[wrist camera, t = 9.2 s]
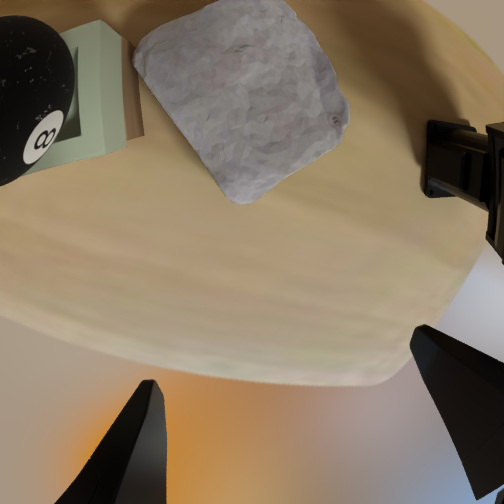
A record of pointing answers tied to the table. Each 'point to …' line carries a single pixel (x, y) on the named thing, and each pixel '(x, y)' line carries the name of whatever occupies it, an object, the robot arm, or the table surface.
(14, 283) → the table surface
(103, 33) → the tower cap
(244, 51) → the stone block
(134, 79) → the tower base
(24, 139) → the billiard ball
